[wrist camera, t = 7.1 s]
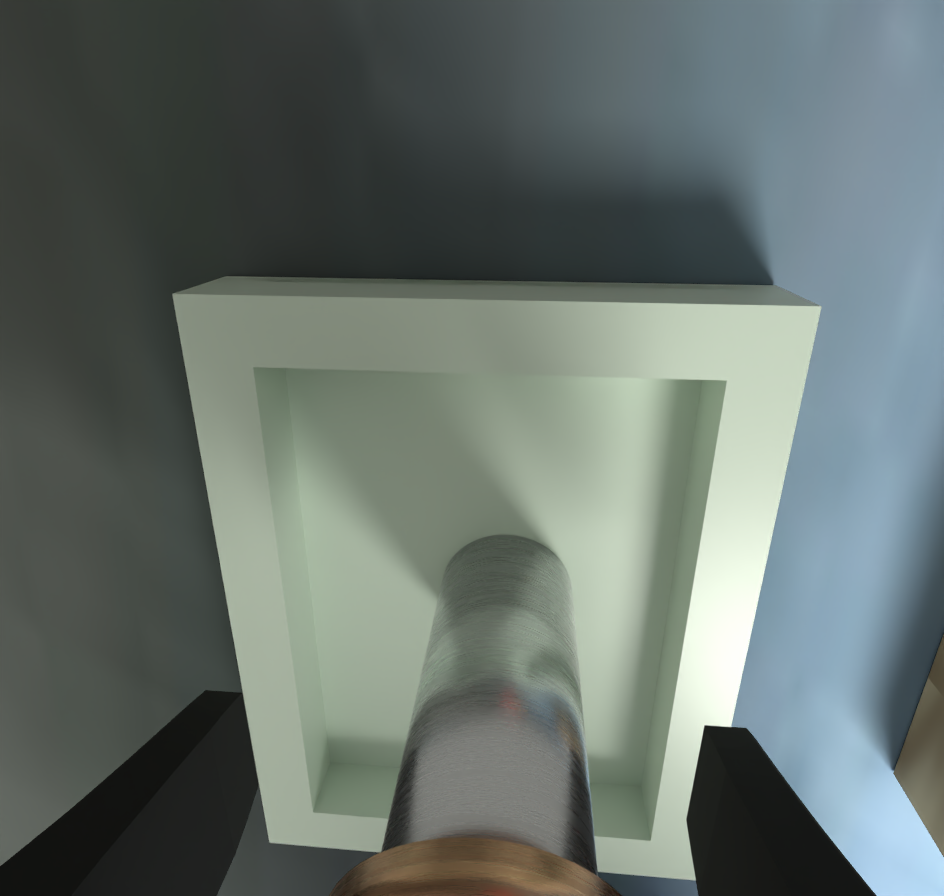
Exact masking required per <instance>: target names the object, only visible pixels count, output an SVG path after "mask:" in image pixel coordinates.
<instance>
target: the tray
mask: <svg viewBox="0 0 944 896" xmlns="http://www.w3.org/2000/svg"><path fill="white" fill-rule="evenodd" d="M172 295H173V301H174V307H175V312H176V318H177V324H178V329H179V335H180V340H181V346H182V352H183V357H184V363H185V369H186V374H187V380H188V386H189V391H190V397H191V403H192V408H193V414H194V419H195V425H196V431H197V436H198V442H199V448H200V453H201V459H202V465H203V470H204V476H205V481H206V487H207V493H208V498H209V504H210V510H211V515H212V521H213V527H214V532H215V538H216V544H217V549H218V555H219V560H220V566H221V572H222V577H223V583H224V589H225V594H226V600H227V606H228V611H229V617H230V623H231V628H232V634H233V639H234V645H235V651H236V656H237V662H238V668H239V673H240V679H241V685H242V690H243V696H244V701H245V707H246V713H247V718H248V724H249V730H250V735H251V741H252V747H253V752H254V758H255V764H256V769H257V775H258V780H259V786H260V792H261V797H262V803H263V809H264V814H265V820H266V826H267V831H268V837H269V843H279V844H290V845H301V846H313V847H324V848H335V849H346V850H358V851H369V852H380V853H381V850H382V845H383V841H384V836H385V832H386V828H387V823H388V819H389V814H390V810H391V805H392V801H393V797H394V792H395V788H396V783H397V779H398V774H399V770H400V765H401V761H402V757H403V752H404V748H405V743H406V739H407V734H408V730H409V726H410V721H411V717H412V712H413V708H414V703H415V699H416V694H417V690H418V686H419V681H420V677H421V672H422V668H423V663H424V659H425V655H426V650H427V646H428V641H429V637H430V632H431V628H432V624H433V619H434V615H435V610H436V606H437V601H438V597H439V592H440V588H441V584H442V579H443V575H444V572H445V569H446V567H447V565H448V563H449V561H450V560H451V559H452V557H453V556H454V555H455V554H456V553H457V552H458V551H459V550H460V549H461V548H463V547H464V546H466V545H467V544H469V543H471V542H473V541H475V540H477V539H480V538H483V537H487V536H492V535H517V536H521V537H526V538H528V539H531V540H534V541H536V542H538V543H540V544H542V545H544V546H545V547H547V548H548V549H550V550H551V551H552V552H553V553H554V554H555V555H556V556H557V557H558V558H559V559H560V560H561V562H562V563H563V564H564V566H565V568H566V570H567V572H568V574H569V577H570V580H571V586H572V596H573V607H574V618H575V629H576V640H577V651H578V662H579V673H580V684H581V695H582V706H583V717H584V728H585V738H586V749H587V760H588V771H589V782H590V793H591V804H592V815H593V826H594V837H595V848H596V859H597V869H598V872H606V873H617V874H628V875H639V876H651V877H662V878H673V879H685V880H696V878H695V872H694V866H693V860H692V854H691V847H690V841H689V835H688V828H687V822H686V818H687V813H688V808H689V803H690V797H691V792H692V787H693V782H694V777H695V772H696V766H697V761H698V756H699V751H700V746H701V741H702V736H703V730H704V725H709V726H723V727H731V724H732V719H733V715H734V710H735V705H736V701H737V696H738V692H739V687H740V682H741V678H742V673H743V668H744V664H745V659H746V654H747V650H748V645H749V640H750V636H751V631H752V627H753V622H754V617H755V613H756V608H757V603H758V599H759V594H760V589H761V585H762V580H763V576H764V571H765V566H766V562H767V557H768V552H769V548H770V543H771V538H772V534H773V529H774V524H775V520H776V515H777V511H778V506H779V501H780V497H781V492H782V487H783V483H784V478H785V473H786V469H787V464H788V460H789V455H790V450H791V446H792V441H793V436H794V432H795V427H796V422H797V418H798V413H799V408H800V404H801V399H802V395H803V390H804V385H805V381H806V376H807V371H808V367H809V362H810V357H811V353H812V348H813V344H814V339H815V334H816V330H817V325H818V320H819V316H820V311H821V306H820V305H817V304H815V303H813V302H811V301H809V300H806V299H804V298H802V297H800V296H798V295H796V294H793V293H791V292H789V291H787V290H785V289H782V288H780V287H778V286H776V285H723V284H663V283H604V282H544V281H484V280H425V279H365V278H306V277H246V276H225V277H222V278H219V279H216V280H213V281H210V282H207V283H204V284H201V285H198V286H195V287H192V288H189V289H186V290H183V291H180V292H177V293H173V294H172Z"/></svg>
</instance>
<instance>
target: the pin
mask: <svg viewBox="0 0 944 896" xmlns="http://www.w3.org/2000/svg"><path fill="white" fill-rule="evenodd" d="M329 896H622V895H620V894H619V893H618V892H617V891H616V890H615V889H614V888H613V887H612V886H611V885H609V884H608V883H606V882H605V881H604V880H602V879H601V878H599V877H598V869H597V859H596V848H595V837H594V826H593V815H592V804H591V793H590V782H589V771H588V760H587V749H586V738H585V728H584V717H583V706H582V695H581V684H580V673H579V662H578V651H577V640H576V629H575V618H574V607H573V596H572V586H571V580H570V577H569V574H568V572H567V570H566V568H565V566H564V564H563V563H562V562H561V560H560V559H559V558H558V557H557V556H556V555H555V554H554V553H553V552H552V551H551V550H550V549H548V548H547V547H545V546H544V545H542V544H540V543H538V542H536V541H534V540H531V539H528V538H526V537H521V536H517V535H492V536H487V537H483V538H480V539H477V540H475V541H473V542H471V543H469V544H467V545H466V546H464V547H463V548H461V549H460V550H459V551H458V552H457V553H456V554H455V555H454V556H453V557H452V559H451V560H450V561H449V563H448V565H447V567H446V569H445V572H444V575H443V579H442V584H441V588H440V592H439V597H438V601H437V606H436V610H435V615H434V619H433V624H432V628H431V632H430V637H429V641H428V646H427V650H426V655H425V659H424V663H423V668H422V672H421V677H420V681H419V686H418V690H417V694H416V699H415V703H414V708H413V712H412V717H411V721H410V726H409V730H408V734H407V739H406V743H405V748H404V752H403V757H402V761H401V765H400V770H399V774H398V779H397V783H396V788H395V792H394V797H393V801H392V805H391V810H390V814H389V819H388V823H387V828H386V832H385V836H384V841H383V845H382V850H381V853H378V854H376V855H374V856H372V857H370V858H369V859H367V860H365V861H363V862H361V863H360V864H358V865H357V866H356V867H354V868H353V869H352V870H350V871H349V872H348V873H347V874H346V875H345V876H344V877H343V878H342V879H341V880H340V881H339V882H338V883H337V884H336V886H335V887H334V889H333V890H332V892H331V893H330V895H329Z"/></svg>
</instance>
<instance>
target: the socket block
mask: <svg viewBox="0 0 944 896" xmlns="http://www.w3.org/2000/svg"><path fill="white" fill-rule="evenodd" d="M893 774H894V775H895V777H896V779H897V780H898V782H899V784H900V785H901V787H902V789H903V790H904V792H905V794H906V795H907V797H908V799H909V800H910V802H911V803H912V805H913V807H914V808H915V810H916V812H917V813H918V815H919V817H920V818H921V820H922V822H923V823H924V825H925V827H926V828H927V830H928V832H929V833H930V835H931V837H932V838H933V840H934V842H935V843H936V845H937V847H938V848H939V850H940V852H941V853H942V855H943V857H944V635H943V637H942V640H941V643H940V646H939V648H938V651H937V654H936V657H935V660H934V662H933V665H932V668H931V671H930V673H929V676H928V679H927V682H926V684H925V687H924V690H923V693H922V695H921V698H920V701H919V704H918V707H917V709H916V712H915V715H914V718H913V720H912V723H911V726H910V729H909V731H908V734H907V737H906V740H905V742H904V745H903V748H902V751H901V754H900V756H899V759H898V762H897V765H896V767H895V770H894V773H893Z"/></svg>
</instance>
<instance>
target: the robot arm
mask: <svg viewBox="0 0 944 896" xmlns="http://www.w3.org/2000/svg"><path fill="white" fill-rule="evenodd" d="M257 788H258V779H257V774H256V768H255V763H254V757H253V751H252V746H251V740H250V734H249V729H248V723H247V718H246V712H245V706H244V701H243V695H242V693H237V692H223V691H208V690H205V691H204V692H203V693H202V694H201V695H200V696H198V697H197V698H196V699H195V700H194V701H193V702H192V703H190V704H189V705H188V706H187V707H186V708H185V709H184V710H182V711H181V712H180V713H179V714H178V715H177V716H176V717H175V718H173V719H172V720H171V721H170V722H169V723H168V724H167V725H166V726H165V727H163V728H162V729H161V730H160V731H159V732H158V733H157V734H156V735H155V736H153V737H152V738H151V739H150V740H149V741H148V742H147V743H146V744H145V745H143V746H142V747H141V748H140V749H139V750H138V751H137V752H136V753H134V754H133V755H132V756H131V757H130V758H129V759H128V760H127V761H126V762H124V763H123V764H122V765H121V766H120V767H119V768H118V769H116V770H115V771H114V772H113V773H112V774H111V775H109V776H108V777H107V778H106V779H105V780H104V781H103V782H101V783H100V784H99V785H98V786H97V787H96V788H94V789H93V790H92V791H91V792H90V793H89V794H88V795H86V796H85V797H84V798H83V799H82V800H81V801H80V802H78V803H77V804H76V805H75V806H74V807H72V808H71V809H70V810H69V811H68V812H67V813H65V814H64V815H63V816H62V817H61V818H59V819H58V820H57V821H56V822H54V823H53V824H52V825H51V826H49V827H48V828H47V829H46V830H45V831H43V832H42V833H41V834H40V835H38V836H37V837H36V838H35V839H33V840H32V841H31V842H30V843H29V844H27V845H26V846H25V847H24V848H22V849H21V850H20V851H19V852H17V853H16V854H15V855H14V856H13V857H11V858H10V859H9V860H8V861H6V862H5V863H4V864H3V865H1V866H0V896H216V895H217V893H218V891H219V889H220V887H221V885H222V882H223V880H224V878H225V876H226V874H227V871H228V869H229V867H230V865H231V862H232V860H233V858H234V856H235V853H236V850H237V848H238V845H239V842H240V839H241V836H242V833H243V830H244V828H245V825H246V822H247V819H248V816H249V813H250V810H251V806H252V803H253V800H254V797H255V794H256V791H257ZM686 822H687V828H688V835H689V841H690V847H691V854H692V860H693V866H694V872H695V878H696V883H697V889H698V895H699V896H876V895H875V893H874V892H873V891H872V890H871V889H870V887H869V886H868V885H867V884H866V882H865V881H864V880H863V879H862V877H861V876H860V875H859V874H858V873H857V871H856V870H855V869H854V868H853V866H852V865H851V864H850V863H849V861H848V860H847V859H846V858H845V856H844V855H843V854H842V853H841V851H840V850H839V849H838V848H837V846H836V845H835V844H834V843H833V841H832V840H831V839H830V838H829V836H828V835H827V834H826V833H825V831H824V830H823V829H822V827H821V826H820V825H819V824H818V822H817V821H816V820H815V818H814V817H813V816H812V815H811V813H810V812H809V811H808V809H807V808H806V807H805V805H804V804H803V803H802V801H801V800H800V799H799V797H798V796H797V795H796V793H795V792H794V791H793V789H792V788H791V787H790V785H789V784H788V783H787V781H786V780H785V779H784V777H783V776H782V775H781V773H780V772H779V771H778V769H777V768H776V766H775V765H774V764H773V762H772V761H771V760H770V758H769V757H768V755H767V754H766V753H765V751H764V750H763V749H762V747H761V746H760V745H759V743H758V742H757V740H756V739H755V738H754V736H753V735H752V734H751V733H750V732H749V731H748V729H747V728H738V727H723V726H709V725H704V730H703V736H702V741H701V746H700V751H699V756H698V761H697V766H696V772H695V777H694V782H693V787H692V792H691V797H690V803H689V808H688V813H687V818H686Z"/></svg>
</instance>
